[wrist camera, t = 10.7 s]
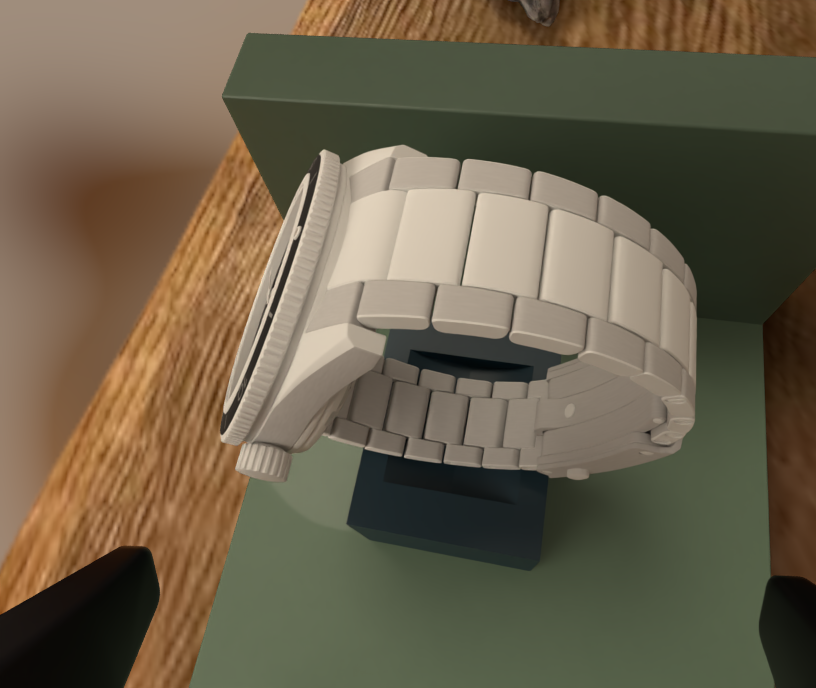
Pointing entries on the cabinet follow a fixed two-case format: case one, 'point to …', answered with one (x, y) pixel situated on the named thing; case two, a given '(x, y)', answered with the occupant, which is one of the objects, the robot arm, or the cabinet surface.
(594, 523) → the green display stand
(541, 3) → the bone
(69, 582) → the robot arm
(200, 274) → the cabinet surface
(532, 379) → the watch
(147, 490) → the cabinet surface
